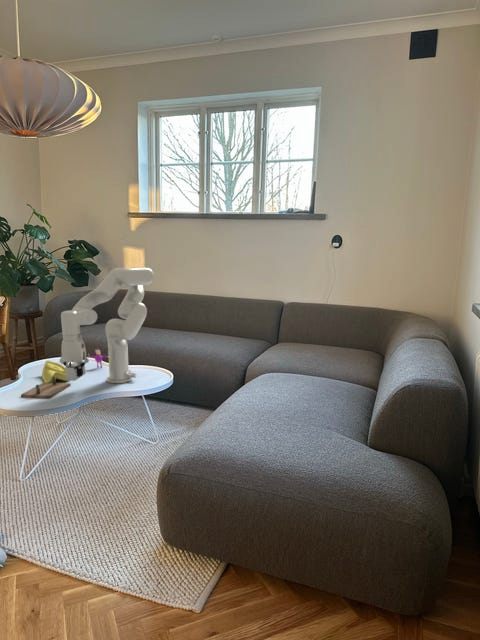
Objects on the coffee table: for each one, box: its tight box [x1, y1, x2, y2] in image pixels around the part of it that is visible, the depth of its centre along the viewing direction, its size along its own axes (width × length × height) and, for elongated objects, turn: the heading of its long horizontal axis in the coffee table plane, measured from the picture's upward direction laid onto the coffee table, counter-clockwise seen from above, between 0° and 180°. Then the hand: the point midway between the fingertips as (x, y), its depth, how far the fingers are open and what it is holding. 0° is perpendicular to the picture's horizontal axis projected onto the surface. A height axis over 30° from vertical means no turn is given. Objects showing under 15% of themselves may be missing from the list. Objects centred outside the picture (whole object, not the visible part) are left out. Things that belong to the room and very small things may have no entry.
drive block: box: [65, 362, 86, 382], centre depth 198 cm, size 4×10×6 cm, turn 173°
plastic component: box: [41, 360, 68, 383], centre depth 220 cm, size 20×8×10 cm
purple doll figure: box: [87, 347, 109, 368], centre depth 238 cm, size 11×3×12 cm, turn 95°
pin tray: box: [20, 376, 71, 399], centre depth 199 cm, size 14×18×5 cm
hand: (75, 375), depth 198 cm, fingers closed on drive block, 4 cm apart
